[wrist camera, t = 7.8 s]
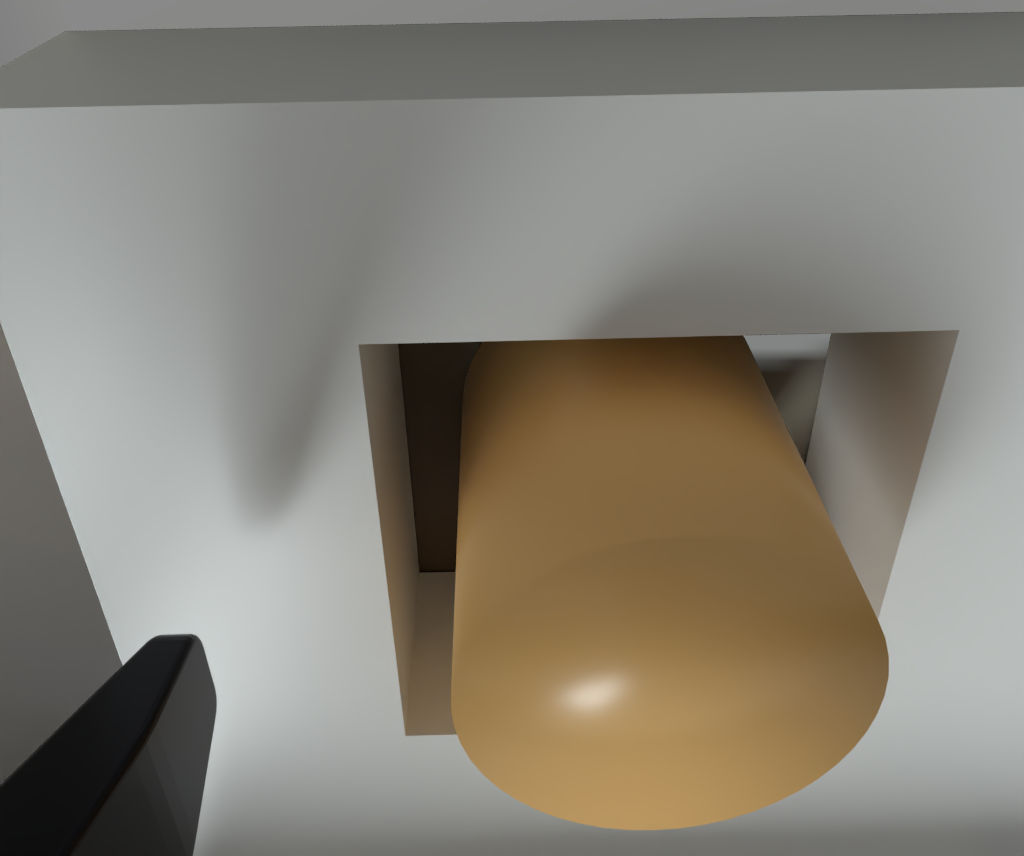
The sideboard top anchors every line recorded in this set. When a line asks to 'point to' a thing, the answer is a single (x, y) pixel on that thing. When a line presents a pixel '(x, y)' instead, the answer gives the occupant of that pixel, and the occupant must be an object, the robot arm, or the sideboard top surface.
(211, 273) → the housing
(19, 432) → the sideboard top surface
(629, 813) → the rounded peg
